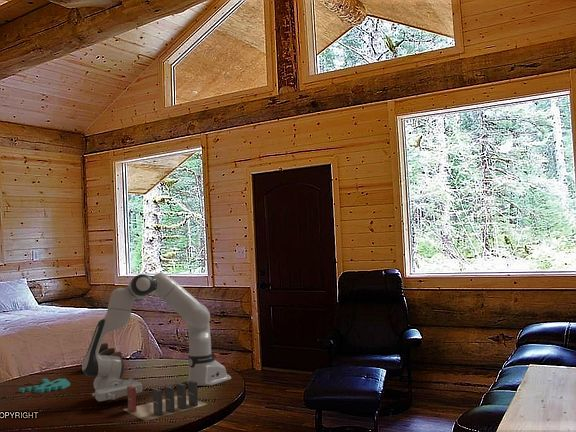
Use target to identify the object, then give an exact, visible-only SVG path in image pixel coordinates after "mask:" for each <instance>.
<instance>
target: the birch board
mask: <svg viewBox="0 0 576 432" xmlns="http://www.w3.org/2000/svg"><path fill="white" fill-rule="evenodd" d="M174 404H175V412H173V413H171V412H168V411H166V404H165V398H162V410H163V415H161V416H158V415H156V414H154V410H153V401H152V402H148V403H144V404H140V405H136V410H137V412H131V411H129V410H128V407H127V408H123V409H122V410H123V411H125V412H127V413H129V414H131V415H133V416H135V417H136V418H138V419H141V420H143V422H148V421H150V420H155V419H158V418H163V417H166V416H171V415H174V414H177V413H181V412H184V411H188V410H189V411H190V410H192V409H196V408H201V407H203V406H206V405H208V403H206V402H204V401H201V400H198V406H195V407H194V406H192V405H189V395H186V407H187V409H184V410H183V409H180V408H178V407H177V395H176V396H174Z"/></svg>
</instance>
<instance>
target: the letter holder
mask: <svg viewBox="0 0 576 432" xmlns="http://www.w3.org/2000/svg"><path fill="white" fill-rule="evenodd" d="M98 354H99V355H106V356H117V357H120V358H121V359H122V360H123V355H122V351H116V349H115V347H109V343H107V342H104V343H103V342H102V343H101V346H100V349H99V352H98Z"/></svg>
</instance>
